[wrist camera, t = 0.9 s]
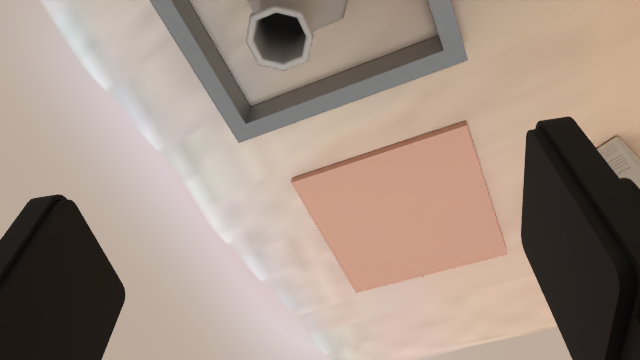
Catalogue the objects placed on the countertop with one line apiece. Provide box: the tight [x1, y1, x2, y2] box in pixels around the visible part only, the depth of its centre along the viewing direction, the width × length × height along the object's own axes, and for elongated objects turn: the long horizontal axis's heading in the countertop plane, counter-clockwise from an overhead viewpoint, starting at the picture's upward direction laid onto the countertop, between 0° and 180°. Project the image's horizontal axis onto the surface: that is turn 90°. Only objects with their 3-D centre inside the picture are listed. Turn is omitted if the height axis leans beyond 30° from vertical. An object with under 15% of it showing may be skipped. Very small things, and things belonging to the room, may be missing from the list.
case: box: [150, 0, 468, 143], centre depth 27 cm, size 16×17×14 cm
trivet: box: [291, 121, 507, 293], centre depth 44 cm, size 14×14×1 cm
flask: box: [246, 0, 348, 71], centre depth 29 cm, size 7×7×10 cm
